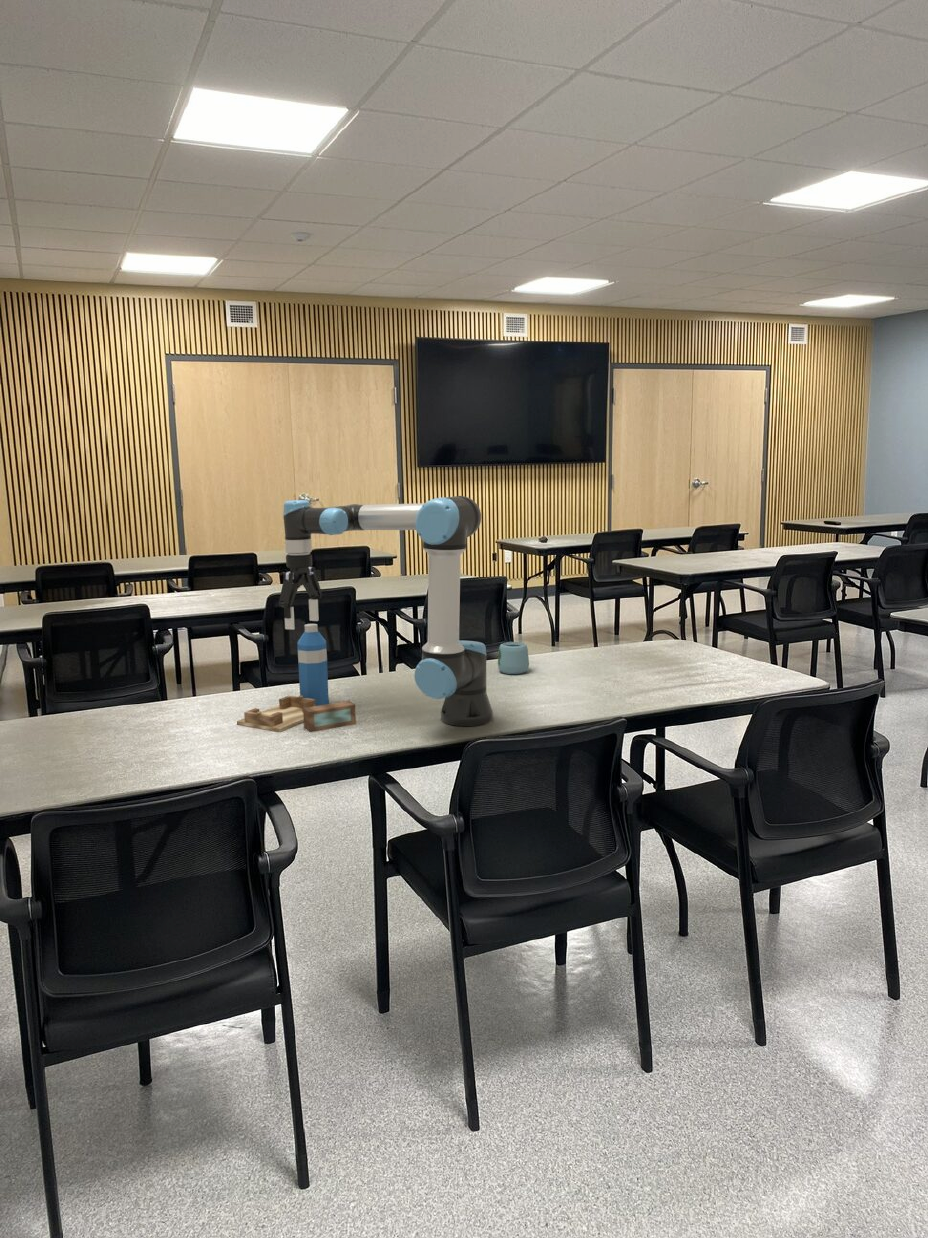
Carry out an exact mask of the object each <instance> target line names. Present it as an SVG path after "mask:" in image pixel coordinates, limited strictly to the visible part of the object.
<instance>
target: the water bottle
mask: <svg viewBox="0 0 928 1238" xmlns="http://www.w3.org/2000/svg"><path fill="white" fill-rule="evenodd" d="M297 658H298V659H297V660H298V661H297V662H298V681H299V685H298V686H299V696H300V695H302V696H303V698H309V699H315V703H316V706H320V705H326V704H330V702H329V701H330V699H329V680H328V677H329V676H328V675H329V674H328V673H329V672H328V654H327V640H326V639H325V638H324V636H323V635H322V634H321V633H320V631H319V629H318V624H317V623H307V624H304V632H303V633H302V635H300V638H298V640H297Z"/></svg>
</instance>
